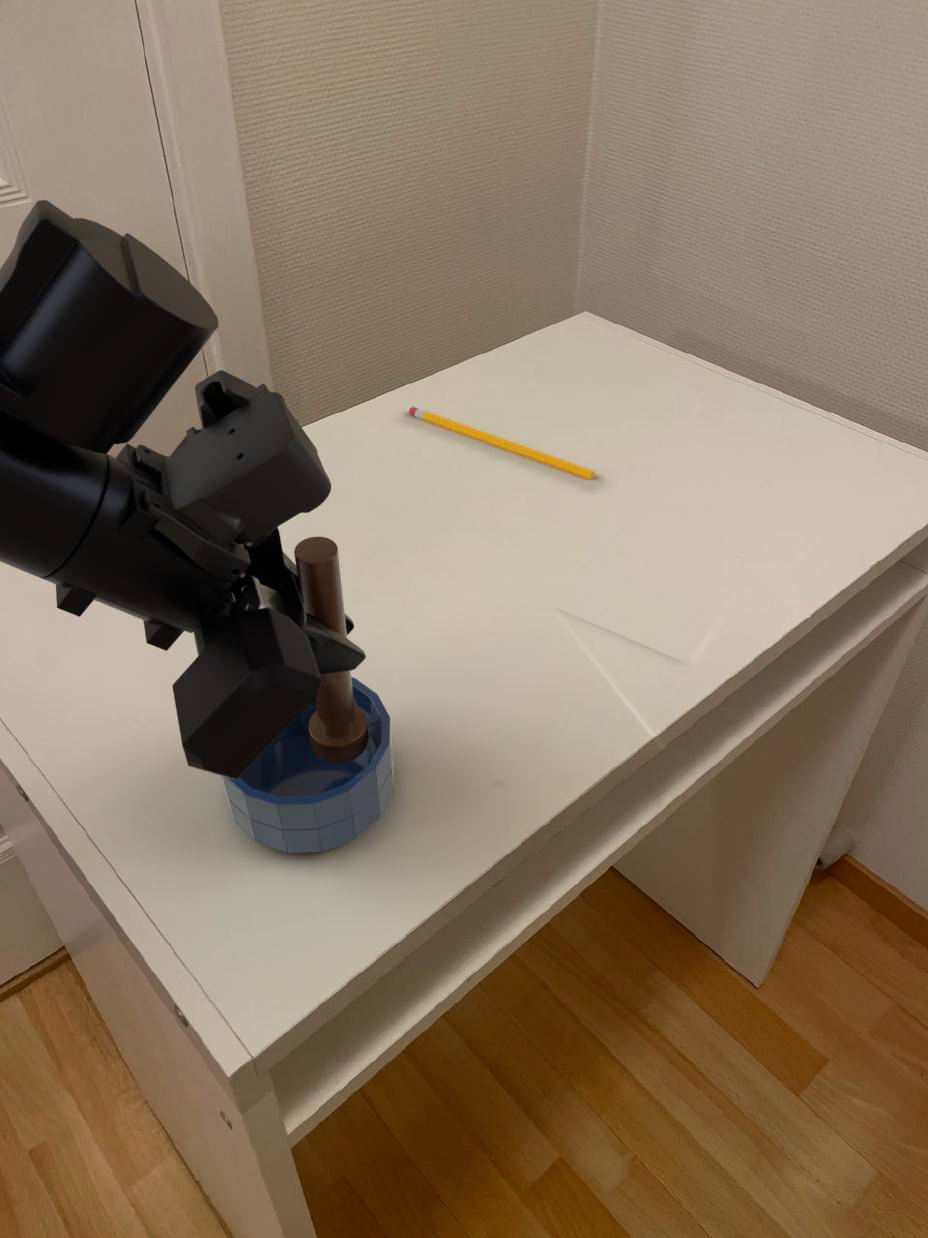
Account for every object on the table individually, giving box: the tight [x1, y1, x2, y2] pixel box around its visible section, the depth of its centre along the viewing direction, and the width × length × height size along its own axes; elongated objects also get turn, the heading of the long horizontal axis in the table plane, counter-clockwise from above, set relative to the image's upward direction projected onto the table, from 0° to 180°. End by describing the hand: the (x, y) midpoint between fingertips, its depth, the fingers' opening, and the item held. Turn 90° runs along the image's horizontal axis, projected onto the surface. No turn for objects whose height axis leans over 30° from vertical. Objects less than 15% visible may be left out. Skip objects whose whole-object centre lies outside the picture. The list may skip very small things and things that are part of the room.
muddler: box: [293, 536, 368, 763], centre depth 48 cm, size 3×3×14 cm
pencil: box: [408, 406, 595, 481], centre depth 81 cm, size 1×18×1 cm, turn 57°
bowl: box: [220, 676, 395, 854], centre depth 53 cm, size 9×9×5 cm
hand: (354, 646), depth 48 cm, fingers closed on muddler, 2 cm apart
